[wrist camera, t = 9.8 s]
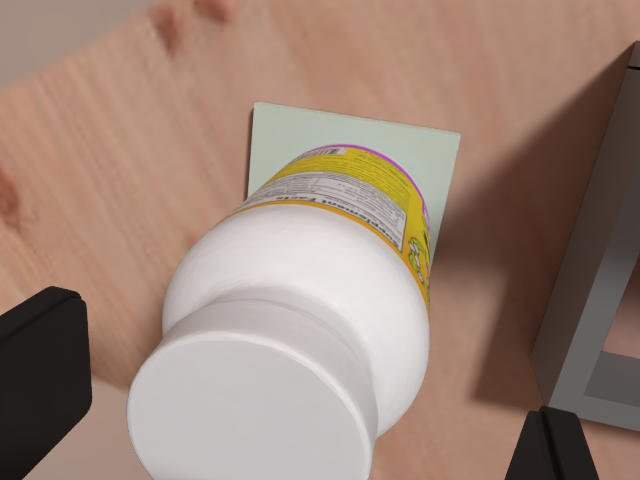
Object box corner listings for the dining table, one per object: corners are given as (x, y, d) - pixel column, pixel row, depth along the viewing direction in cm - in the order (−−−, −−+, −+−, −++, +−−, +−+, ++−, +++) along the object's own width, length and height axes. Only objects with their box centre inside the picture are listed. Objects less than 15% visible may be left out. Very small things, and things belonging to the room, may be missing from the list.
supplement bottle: (382, 318, 22) (325, 627, 11) (247, 248, 22) (43, 477, 11) (463, 186, 20) (508, 408, 8) (309, 107, 20) (126, 209, 8)
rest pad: (460, 132, 19) (461, 135, 19) (419, 313, 23) (418, 320, 22) (259, 101, 21) (254, 103, 20) (246, 278, 24) (241, 283, 23)
